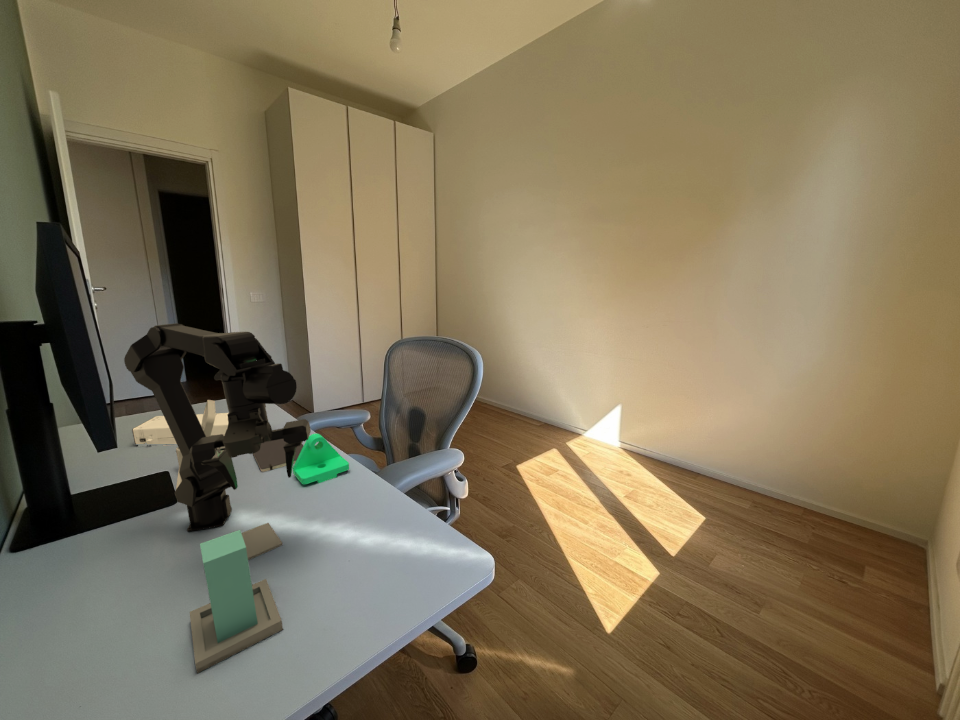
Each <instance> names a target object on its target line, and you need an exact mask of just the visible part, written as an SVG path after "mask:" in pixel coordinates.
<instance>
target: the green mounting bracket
mask: <svg viewBox="0 0 960 720" xmlns="http://www.w3.org/2000/svg"><path fill="white" fill-rule="evenodd" d="M349 469H350V463H349V461H348V460H347V459H345V458H344V457H343V456H342V455H341V454H340V453H339V452H338V451H337V450H336V449H335V448H334V447H333V446H332V444H330V443H329V442H328V441H327V439H326V438H324V436H322V434H320V433H312V434H310V435H309V438H308V440H306V441H304V444H303V448H302V450H301V452H300V454H299V456H298V458H297V460H296V462H295V463H294V464H293V468H292V474H293V475H294V476H295V477H296V478H297V480H298V482H300V483H301V484H302V485H308V484H311V483H314V482H317V484H322V483H324V482H327V481H330V480H332V479H336V478H338V474H341V473H344V472H346V471H347V472H348V470H349Z"/></svg>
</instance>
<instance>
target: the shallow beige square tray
mask: <svg viewBox="0 0 960 720" xmlns="http://www.w3.org/2000/svg"><path fill="white" fill-rule="evenodd" d="M252 590H253V596H254V603H255V609H256V616H257V622H258V624H256V625H254V626H252V627H250V628H248V629H246V630H244V631H242V632H240V633H238V634H236V635H234V636H232V637H230V638H227V639H225V640H223V641H221V642H219V643H218V642H217V636H216V631H215V625H214V620H213V614H212V609H211V603H210V602H209V603H207V604H204V605H203V606H200V607H198V608H195V609H193V610H191V611H189V619H190V628H191V638H192V648H193V655H194V663H195V670H196V674H199V673H201V672H203V671H205V670H207V669H210V668H211V667H213V666H215V665H217V664H218V663H221V662H222V661H224V660H226V659H228V658H231V657H232V656H234V655H236V654H238V653H240V652H242V651H244V650H246V649H249V647H252V646H254V645H256V644H257V643H259V642H262V641H264V640H265V639H268V638H269V637H271V636H273V635H275V634H277V633H279V632H281V631H283V630H284V629H283V621H282V618H281V614H280V612H279V609H278V607H277V604H276V601H275V599H274V597H273V593H272V591H271V588H270V585H269V583H268V580H267V578H264V579H262V580H260V581H257V582H255V583H253V584H252Z"/></svg>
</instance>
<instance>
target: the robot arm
mask: <svg viewBox="0 0 960 720" xmlns="http://www.w3.org/2000/svg"><path fill="white" fill-rule="evenodd" d="M187 353H190V354H195V355H198V356H202V357H204V362H205V363H207V364H209V365H210V366H213V367H214V368H216V369H219V370H218V372H216V373H215V375H214V376H213V379H214V381H221V384H222V388H223V393H224V398H225V401H226V405H227V410H228V413H229V414H227V415H228V428H227V430H226V433H225V435H223V434H220V435H214V436H209V437H206V435H205V433H204V431H203V429H202V426H201V424H200V422H199V420H198V418H197V416H196V414H197V413H196V411H195V410H194V407H193V405H192V403H191V401H190V399H189V397H188V394H187V392H186V390H185V388H184V386H183V384H182V382H181V381H182V376H183V372H184V368H185V365H184V362H183V360H184V359H183V358H184V357H185V355H186V354H187ZM123 361H124V365H125V367H126V370H127V371H128V372H130V374H131V375H132V377H133V378H134V380H135V382H136V383H138V384H140V385H141V386H142V387H144V388H147V389H148V390H150V391H151V392H152V394H153V396H154V398H155V401H156V402H157V405H158V407H159V409H160V411H161V413H162V416H164V417H165V420H166V422H167V424H168V426H169V428H170V430H171V432H172V434H173V437H174V439H175V441H176V443H177V445H176V446H177V447H179V449H180V452H181V454H182V456H183V458H182V462H181V466H180V471H179V470H178V471H179V474H180V476H181V479H182V482H181V483H180V485H179V486H178V488H177V489H176V488H175V491H174V492H173V493H174V495H175V498H176V501H177V502H178V503H179V504H183V505H185V506H186V508H187V514H188V519H189V525H188V526H187V528H186V531H187V532H194V531H200V530H207V529H213V528H214V529H215V528H219V527H223V526H224V525H225V523H226V521H227V519H228V518H229V517H230V515H231V513H232V510H233V509H232V507H231V506H232V505H231V504H232V503H231V500H230V495H229V494H227V492H226V491H227V489H229V488H232V490H234V491H235V490H237V489H238V487H239V485H238V479H237V474H236V470H235V465H234V462H233V459H232V458H236V457H238V456H242V455H248V454H249V455H253V453H256V452H258V451H259V450H260V447H261V446H260V445H261V443H264V442H268V441H273V440H278V439H284V441H285V442H286V443H285V445H284V447H283V448H284V451H285V457H286V466H285V470H286V474H287V477H288V479H290V478H291V477H292V474H293V466H294V464H293V462H294V456H295V451H296V448H297V447H298V446H300V445H302V444H303V442H306V440H308V438H309V436H310V435H311V430H312V429H311V425H310V421H308V420H307V419H306V418H302V419H297V420H293V421H292V420H291V421H287V422H285V424H284V425H283V427H282V428H278V429H272V425H271V424H270V422H269V418H268V413H266V412H267V406H266V404H268V405H284V404H287V403H289V402H291V401H292V399H294V397H295V395H296V393H297V380H296V379H295V378H294V376H293V375H292V374H291V373H290V372H289V371H287V370H284V368H283V364H282V363H275V361H274V360H273V358H272V355H270V354H269V353H268V352H267V350H266V348H264V347H263V344H261V343H260V341H259V340H258V338H256V336H255V334H253V333H252V332H250V331H234V332H224V333H223V332H219V333H218V332H214V331H209V330H203V329H200V328H195V327H191V326H187V325H186V326H185V325H184V324H182V323H177V322H175V323H167V324H158V325H154V326H153V327H152V326H151V327H150V328H149V329H148V331H147V333H146V334H145V335H143V336H142V337H140V338H139V339H138V340H137V341H135V342H133V343H132V344H131V345H130V346H129V348H128V350H127V352H126V354H124V358H123Z"/></svg>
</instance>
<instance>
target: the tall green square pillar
mask: <svg viewBox="0 0 960 720" xmlns="http://www.w3.org/2000/svg"><path fill="white" fill-rule="evenodd" d="M241 533H242V531H241V529H238V530H236V531H233V532H229V533H227V534H224V535H221V536H218V537H215V538H213V539H210V540H207V541H203V542H201V543H199V547H200V551H201V552H200V553H201V559H202V564H203V569H204V574H205V575H204V576H205V581H206V586H207V591H208V598H209V603H211V609H212V614H213V620H214V625H215V631H216V636H217V642H218V643H219V642H221V641H223V640H225V639H227V638H230V637H232V636H234V635H236V634H238V633H240V632H242V631H244V630H246V629H248V628H250V627H252V626H254V625H256V624H258V622H257V616H256V609H255V603H254V596H253V590H252V585H253V584H252V578H251V577H252V576H251V571H250V570H251V569H250V566H249V565H250V564H249V560H248V557H247V550H246V546H245V543H244V540H243V537H242V534H241Z"/></svg>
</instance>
